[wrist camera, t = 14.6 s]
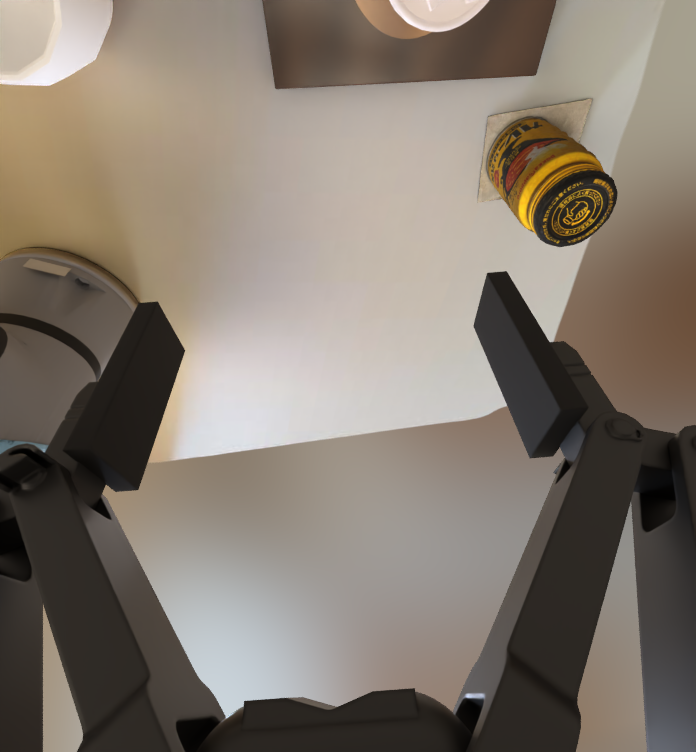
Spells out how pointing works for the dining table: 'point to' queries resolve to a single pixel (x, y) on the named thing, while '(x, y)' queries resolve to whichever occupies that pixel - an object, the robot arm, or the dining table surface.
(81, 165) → the dining table surface
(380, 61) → the board
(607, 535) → the robot arm
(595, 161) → the condiment
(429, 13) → the smoothie
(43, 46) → the cup
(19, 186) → the dining table surface
